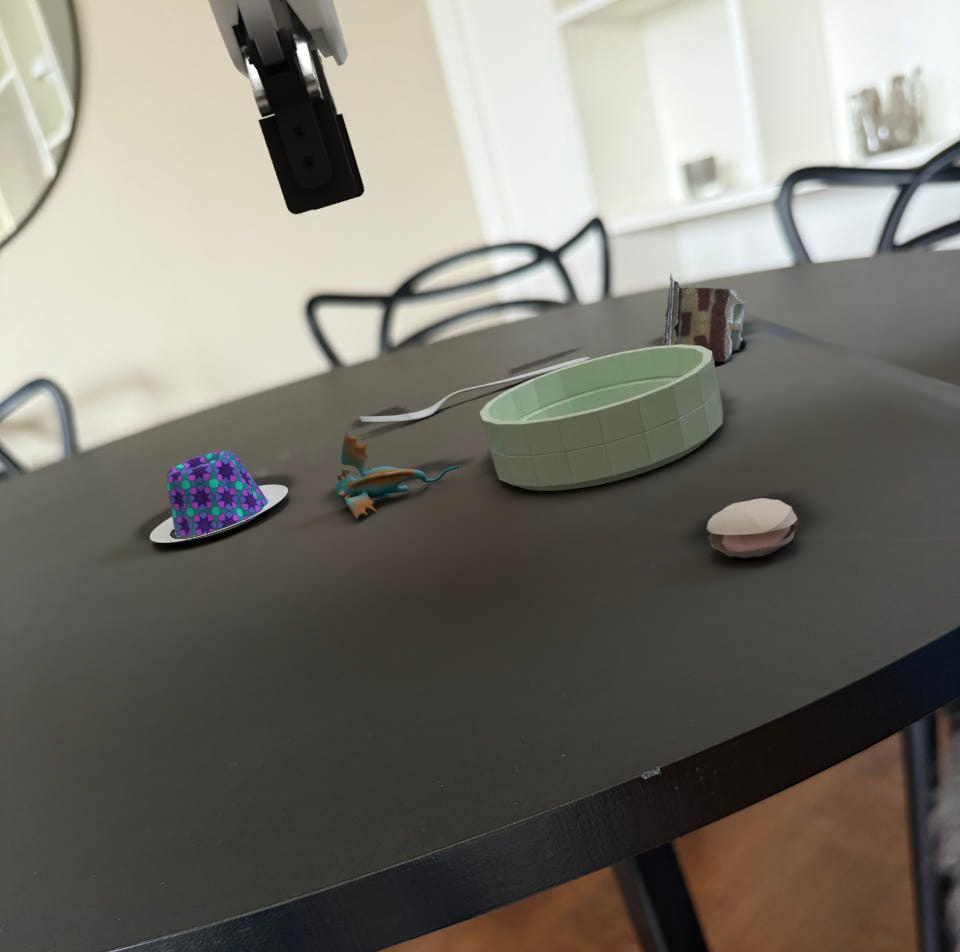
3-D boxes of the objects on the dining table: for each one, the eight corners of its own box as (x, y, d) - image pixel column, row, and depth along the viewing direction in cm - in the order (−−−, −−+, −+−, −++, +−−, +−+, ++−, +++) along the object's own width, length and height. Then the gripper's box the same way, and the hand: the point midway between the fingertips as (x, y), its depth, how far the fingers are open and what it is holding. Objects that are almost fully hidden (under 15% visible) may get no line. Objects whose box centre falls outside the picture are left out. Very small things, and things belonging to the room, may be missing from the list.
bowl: (689, 397, 80) (676, 333, 78) (756, 443, 65) (743, 366, 63) (489, 456, 81) (472, 394, 78) (511, 516, 66) (490, 441, 64)
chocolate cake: (750, 368, 84) (756, 244, 87) (663, 364, 85) (672, 241, 88) (734, 425, 93) (741, 310, 96) (656, 420, 94) (665, 307, 97)
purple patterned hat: (319, 488, 86) (297, 429, 84) (218, 549, 78) (191, 485, 76) (226, 496, 94) (204, 442, 92) (124, 552, 85) (98, 494, 83)
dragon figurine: (415, 456, 83) (321, 453, 79) (457, 423, 76) (358, 417, 72) (425, 535, 82) (331, 535, 78) (469, 508, 75) (369, 507, 71)
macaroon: (699, 567, 50) (690, 519, 49) (740, 525, 54) (732, 480, 53) (784, 567, 48) (775, 517, 47) (821, 523, 51) (814, 476, 50)
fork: (595, 360, 103) (591, 342, 102) (368, 438, 99) (362, 421, 98) (584, 357, 105) (580, 340, 105) (362, 433, 102) (357, 416, 101)
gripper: (257, -342, 35) (404, 181, 42) (302, -179, 51) (404, 183, 58) (53, -274, 36) (232, 233, 43) (160, -132, 52) (278, 221, 58)
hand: (331, 204), depth 50 cm, fingers open, 9 cm apart
